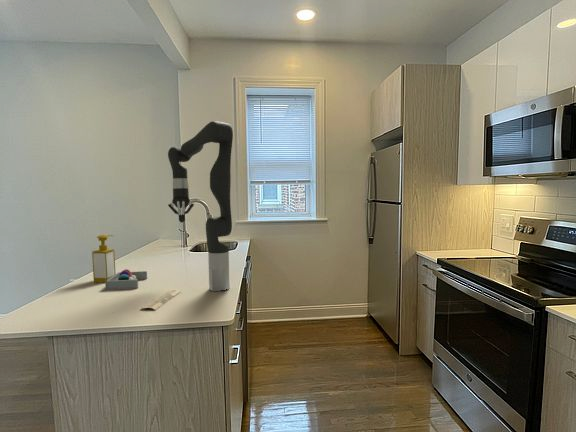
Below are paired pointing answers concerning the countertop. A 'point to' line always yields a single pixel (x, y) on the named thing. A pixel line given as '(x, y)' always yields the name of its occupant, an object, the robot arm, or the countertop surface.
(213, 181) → the robot arm
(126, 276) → the rainbow striped dome
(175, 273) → the countertop surface
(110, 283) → the tray
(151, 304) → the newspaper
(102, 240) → the soap bottle
